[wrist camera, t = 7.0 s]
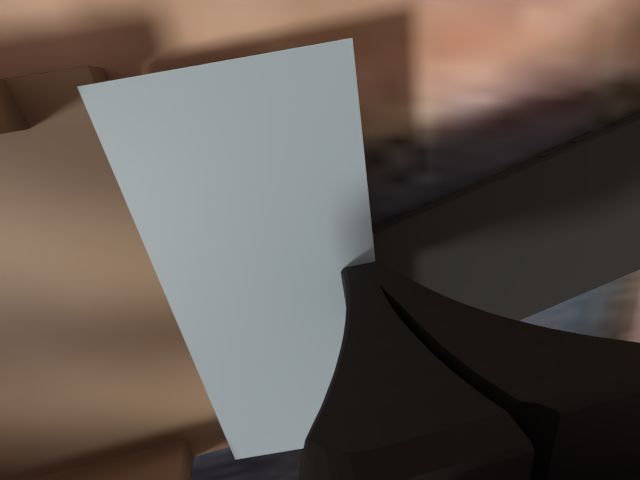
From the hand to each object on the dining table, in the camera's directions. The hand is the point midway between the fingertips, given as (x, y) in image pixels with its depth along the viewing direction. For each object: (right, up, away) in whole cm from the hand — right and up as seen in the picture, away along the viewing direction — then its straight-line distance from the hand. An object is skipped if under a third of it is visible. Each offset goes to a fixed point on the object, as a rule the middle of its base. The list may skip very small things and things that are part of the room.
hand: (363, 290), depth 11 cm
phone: (+7, +1, +4) cm, 8 cm away
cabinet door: (-6, -1, +1) cm, 6 cm away
